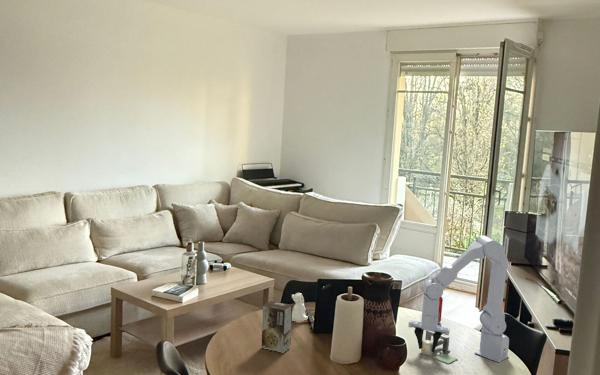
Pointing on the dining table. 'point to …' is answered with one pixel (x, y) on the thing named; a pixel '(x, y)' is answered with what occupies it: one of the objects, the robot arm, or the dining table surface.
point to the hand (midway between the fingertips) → (426, 349)
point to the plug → (429, 346)
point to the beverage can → (440, 309)
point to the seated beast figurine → (298, 308)
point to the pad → (445, 358)
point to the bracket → (443, 337)
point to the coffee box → (276, 326)
